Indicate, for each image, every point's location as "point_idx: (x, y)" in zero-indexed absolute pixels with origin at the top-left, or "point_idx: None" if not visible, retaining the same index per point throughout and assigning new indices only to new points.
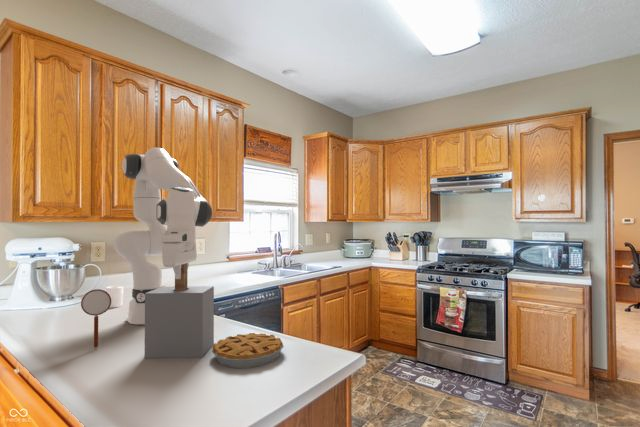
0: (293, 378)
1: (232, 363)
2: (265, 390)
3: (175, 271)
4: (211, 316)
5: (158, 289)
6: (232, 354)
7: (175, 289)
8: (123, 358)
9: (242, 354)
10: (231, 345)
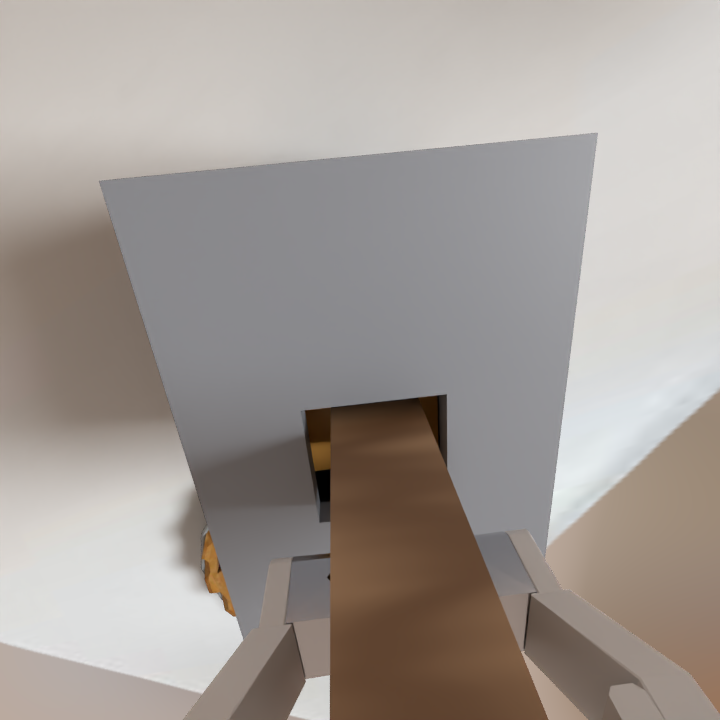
0: (191, 650)
1: None
2: (112, 620)
3: (226, 685)
4: None
5: (378, 212)
6: None
7: (331, 439)
8: (228, 68)
9: (222, 576)
10: None
